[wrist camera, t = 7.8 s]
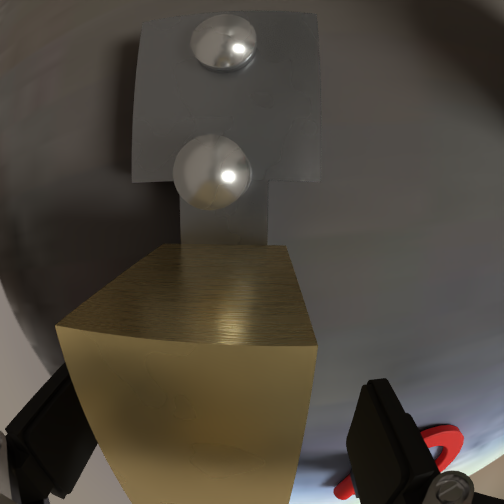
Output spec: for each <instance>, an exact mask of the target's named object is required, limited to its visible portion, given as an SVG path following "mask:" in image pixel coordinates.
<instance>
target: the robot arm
mask: <svg viewBox="0 0 504 504" xmlns="http://www.w3.org/2000/svg"><path fill="white" fill-rule="evenodd" d="M5 430H6V432H7V433H8V434H7V435H6V436H5V435H4V434H3V433H2V432H1V431H0V504H50V502H49V499H48V495H49V494H50V492H51V493H52V494H53V495H56V496H58V497H60V498H62V499H64V498H65V496H66V495H67V494H70V493H71V492H72V490H73V488H74V486H75V484H76V482H77V481H78V479H79V477H80V475H81V473H82V471H83V469H84V467H85V466H86V464H87V462H88V460H89V458H90V456H91V455H92V453H93V451H94V449H95V447H96V446H97V444H98V442H97V440H96V438H95V436H94V434H93V431H92V429H91V427H90V425H89V423H88V420H87V418H86V416H85V413H84V411H83V408H82V406H81V404H80V401H79V399H78V396H77V393H76V391H75V388H74V385H73V383H72V380H71V377H70V374H69V371H68V368H67V365H66V362H65V363H64V364H63V365H62V366H61V367H60V368H59V369H58V370H57V371H56V372H55V373H54V374H53V375H52V377H51V378H50V379H49V380H48V381H47V382H46V383H45V384H44V385H43V386H42V387H41V388H40V390H39V391H38V392H37V393H36V394H35V395H34V396H33V398H31V400H30V401H29V402H28V403H27V404H26V405H25V406H24V407H23V409H22V410H21V411H20V412H19V413H18V414H17V416H16V417H15V418H14V419H13V420H12V421H11V422H10V424H9V425H8V426H7V427H6V428H5ZM346 447H347V451H348V455H349V459H350V463H351V466H352V470H353V474H354V478H355V482H356V486H357V490H358V495H359V499H360V503H361V504H504V500H503V499H498V498H495V497H491V496H487V495H483V494H480V493H476V492H474V485H473V482H472V480H471V479H470V477H468V476H467V475H466V474H464V473H462V472H459V471H446V472H443V473H440V471H439V469H438V467H437V465H436V463H435V461H434V459H433V457H432V455H431V453H430V451H429V449H428V447H427V445H426V443H425V441H424V439H423V437H422V435H421V433H420V431H419V429H418V427H417V426H416V424H415V422H414V420H413V418H412V417H411V415H410V414H408V413H405V411H404V409H403V407H402V405H401V404H400V402H399V400H398V398H397V396H396V394H395V392H394V391H393V389H392V387H391V385H390V383H389V381H388V380H387V379H386V378H383V379H374V380H369V381H368V382H367V385H363V386H362V388H361V392H360V396H359V399H358V403H357V406H356V410H355V413H354V417H353V420H352V423H351V426H350V429H349V432H348V436H347V439H346Z"/></svg>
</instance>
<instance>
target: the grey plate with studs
mask: <svg viewBox="0 0 504 504" xmlns="http://www.w3.org/2000/svg"><path fill="white" fill-rule="evenodd" d="M268 180H277V181H306V182H321V80H320V57H319V39H318V24H317V14H312V13H301V12H285V11H228V12H212V13H201V14H192V15H183V16H176V17H169V18H163V19H157V20H152V21H147V22H143V24H142V30H141V37H140V44H139V52H138V61H137V70H136V80H135V92H134V107H133V127H132V183H141V182H161V181H174V184H175V187H176V189H177V191H178V193H179V194H180V229H181V244H220V245H267V233H268Z"/></svg>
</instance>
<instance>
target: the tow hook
mask: <svg viewBox="0 0 504 504" xmlns="http://www.w3.org/2000/svg"><path fill="white" fill-rule="evenodd" d="M420 433H421V435H422V437H423V439H424V441H425V443H426V445H427V447H428V448H430V447H433V446H444V448H443V451H442V453H441V454H440V456H439V457H438V458H437V459H436V460H435V463H436V465H437V467H438V469H439V471H440V472H442V471H443V470H444V469H445V468H446V467H447V466H448V465H449V464H450V463H451V462H452V461H453V460H454V459H455V457H456V456H457V455H458V453H459V452H460V449H461V447H462V445H463V441H464V437H463V435H462V433H461V432H460V430H459V429H458V427H455V426H453V425H441V426H437V427H433V428H430V429H426V430H424V431H422V432H420ZM354 494H355V495H356V498H359V495H358V490H357V486H356V482H355V478H354V474H353V470H352V471H351V472H350V474H349V475H348V476H347V477H346V478H345V479H344V480H343V481H342V482H341V483H339V484H338V485H337V486H336V487H335V488H334V495H335V496H336V497H337V498H338V499H341V500H346V499H348V498H349V497H350V496H351V495H354Z"/></svg>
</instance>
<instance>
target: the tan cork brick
mask: <svg viewBox="0 0 504 504" xmlns="http://www.w3.org/2000/svg"><path fill="white" fill-rule="evenodd" d="M55 328H56V331H57V335H58V339H59V342H60V346H61V349H62V352H63V356H64V359H65V362H66V365H67V368H68V371H69V374H70V377H71V380H72V383H73V385H74V388H75V391H76V393H77V396H78V399H79V401H80V404H81V406H82V408H83V411H84V413H85V416H86V418H87V420H88V423H89V425H90V427H91V429H92V431H93V434H94V436H95V438H96V440H97V442H98V444H99V446H100V448H101V450H102V452H103V454H104V456H105V458H106V460H107V462H108V463H109V465H110V467H111V469H112V471H113V472H114V474H115V476H116V478H117V479H118V481H119V483H120V484H121V486H122V488H123V490H124V491H125V493H126V494H127V496H128V497H129V499H130V501H131V502H132V504H289V500H290V496H291V492H292V488H293V484H294V479H295V475H296V470H297V466H298V461H299V456H300V451H301V446H302V441H303V436H304V431H305V426H306V420H307V414H308V409H309V403H310V397H311V390H312V384H313V377H314V371H315V363H316V356H317V349H318V345H317V341H316V338H315V335H314V332H313V328H312V325H311V322H310V319H309V315H308V312H307V309H306V306H305V303H304V300H303V296H302V293H301V290H300V287H299V284H298V281H297V278H296V275H295V272H294V269H293V266H292V263H291V260H290V257H289V254H288V251H287V248H286V246H278V245H220V244H163V245H161V246H160V247H158V248H157V249H155V250H154V251H153V252H151V253H150V254H148V255H147V256H146V257H144V258H143V259H141V260H140V261H139V262H137V263H136V264H134V265H133V266H132V267H130V268H129V269H128V270H126V271H125V272H123V273H122V274H121V275H119V276H118V277H117V278H115V279H114V280H113V281H111V282H110V283H109V284H107V285H106V286H105V287H103V288H102V289H101V290H99V291H98V292H97V293H95V294H94V295H93V296H91V297H90V298H89V299H88V300H86V301H85V302H84V303H82V304H81V305H80V306H79V307H77V308H76V309H75V310H73V311H72V312H71V313H70V314H68V315H67V316H66V317H65V318H63V319H62V320H61V321H60V322H58V323H57V324H56V325H55Z"/></svg>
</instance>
